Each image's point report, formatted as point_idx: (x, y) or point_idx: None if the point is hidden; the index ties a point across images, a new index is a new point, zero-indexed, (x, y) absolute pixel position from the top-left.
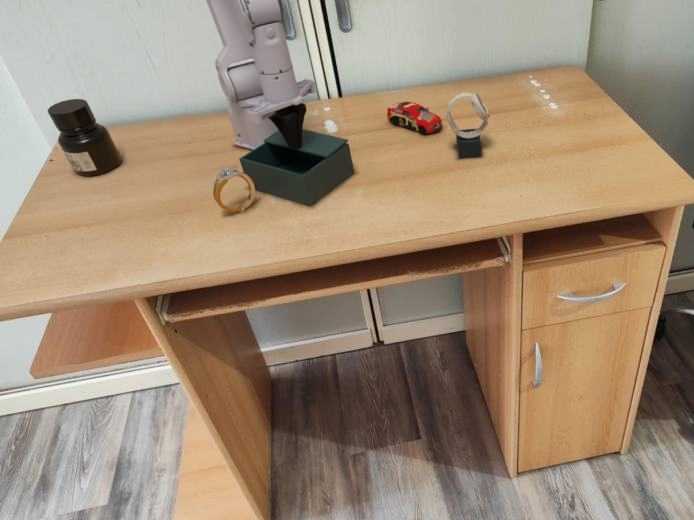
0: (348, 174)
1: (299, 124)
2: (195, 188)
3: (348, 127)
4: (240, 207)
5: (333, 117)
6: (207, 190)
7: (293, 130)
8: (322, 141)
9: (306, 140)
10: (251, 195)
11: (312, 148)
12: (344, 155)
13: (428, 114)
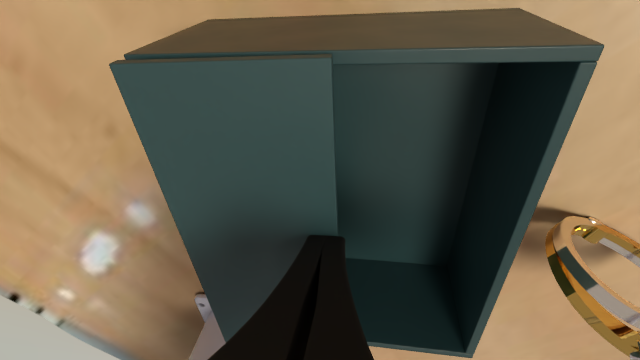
0: (239, 21)
1: (280, 331)
2: (487, 349)
3: (61, 218)
4: (603, 229)
5: (71, 269)
6: (490, 329)
7: (348, 326)
8: (220, 180)
9: (260, 244)
10: (569, 231)
11: (299, 184)
12: (200, 40)
13: None
